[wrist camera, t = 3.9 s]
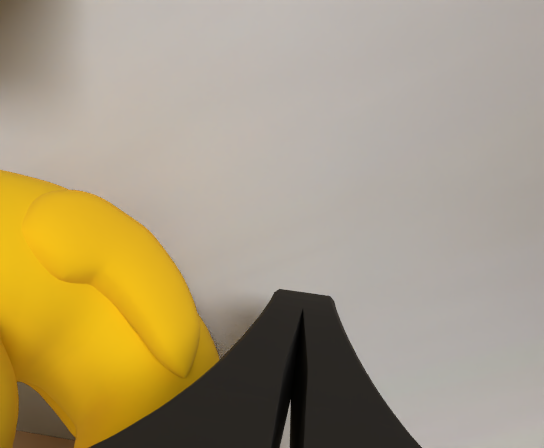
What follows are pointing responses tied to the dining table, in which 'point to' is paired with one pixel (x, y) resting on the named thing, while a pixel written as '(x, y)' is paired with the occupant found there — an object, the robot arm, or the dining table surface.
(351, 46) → the dining table surface
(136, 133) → the dining table surface
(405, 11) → the dining table surface
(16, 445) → the walnut block
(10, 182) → the duckling
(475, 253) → the dining table surface
